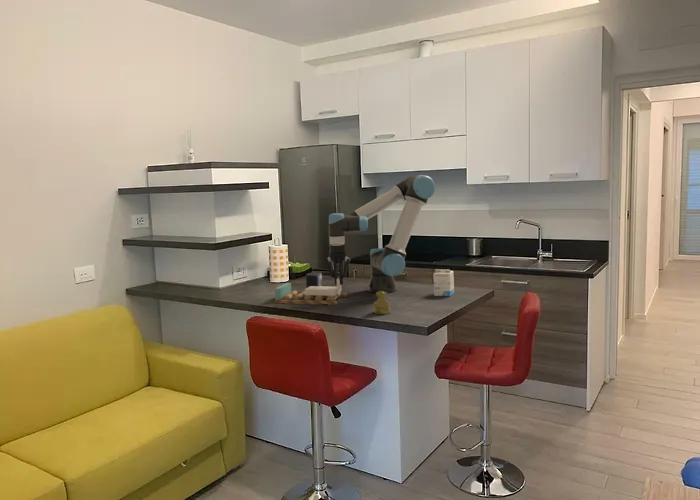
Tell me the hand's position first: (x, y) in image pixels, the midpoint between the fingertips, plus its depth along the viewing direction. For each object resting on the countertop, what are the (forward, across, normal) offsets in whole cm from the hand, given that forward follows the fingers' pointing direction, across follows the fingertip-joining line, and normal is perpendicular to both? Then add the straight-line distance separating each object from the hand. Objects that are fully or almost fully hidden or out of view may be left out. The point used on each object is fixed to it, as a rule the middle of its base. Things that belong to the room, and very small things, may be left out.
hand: (339, 291), depth 278 cm
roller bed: (+5, +15, 0) cm, 16 cm away
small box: (+5, +20, -18) cm, 27 cm away
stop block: (+5, +30, 0) cm, 31 cm away
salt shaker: (+5, -27, +22) cm, 35 cm away
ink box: (+5, -50, -19) cm, 54 cm away
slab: (+2, +9, 0) cm, 9 cm away
